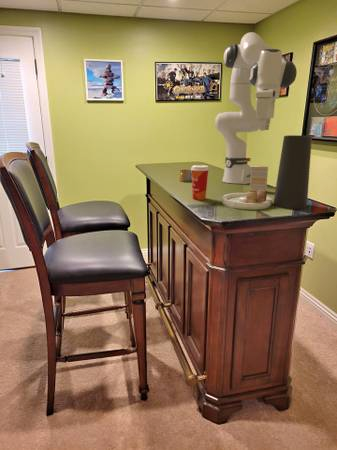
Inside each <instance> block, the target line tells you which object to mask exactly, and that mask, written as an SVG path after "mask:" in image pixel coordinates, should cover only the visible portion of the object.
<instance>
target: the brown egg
mask: <svg viewBox="0 0 337 450" xmlns="http://www.w3.org/2000/svg"><path fill="white" fill-rule="evenodd" d="M256 193H257V200H256V203H260V202H265V201H266V196H268V191H267V190H266V191H264V190H258V191H257V192H256Z"/></svg>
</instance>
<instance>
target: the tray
mask: <svg viewBox="0 0 337 450" xmlns="http://www.w3.org/2000/svg"><path fill="white" fill-rule="evenodd" d="M246 196H247V192H231V193H227V194H226V193H225V194H224V195H222V196H220V197H221V198H220V199H221V203H222V205H223V206H226V207H228V208H232V209H237V210H238V209H239V210H248V211H249V210H251V211H252V210H253V211H254V210H255V211H256V210H265V209H268V208H270V207H272V204H273V198H271V197H270V196H268V195H267V196H266V201H265V202H260V203H246Z"/></svg>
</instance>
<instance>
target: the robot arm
mask: <svg viewBox="0 0 337 450" xmlns="http://www.w3.org/2000/svg"><path fill="white" fill-rule="evenodd" d="M223 62H224V66H225V67H226V68H228V69H231V76H230V85H229V101H230V102H231V103H232V104H234V105H236V106H237V107H239V109H240V111H225V112H219V113H218V114H217V115H216V116H215V118H214V126H215V128H216V130H217V131H218V132H219V133H220V134H221V135H222V136H223V138H224V140H225V144H226V146H225V147H226V155H225V156H226V157H225V159H224V160H225V162H224V164H225V166H224V170H223V177H222V181H221V182H223V183H226V184H234V185H235V184H241V185H242V184H243V185H248V184H250V175H251V166H250V165H249V164H248V162H251V157H247V147H248V145H247V143H246V141H245V140H244V139H242V138H240V137H238V136H237V133H252V132H257V131H261V132H263V131H269V129H270V125H271V119H274V117H275V104H276V99H277V100H278V99H279V98H280V89H281V88H282V89H283V88H285V89H287V88H288V87H290V86H291V85H292V84H293V83H294V82H295V81H296V78H297V73H298V72H297V67H296V65H295V64H294V62H293V61H291V60H288V59H287V58H285V56H284V55H283V54H282V50H281V49H279V48H273V47H271V46H270V45H268V44H267V43H266V42H265V41H264V39H263V38H262V37H261V35H259V34H258V33H256V32H254V31H252V32H251V31H250V32H247V33H245V34H244V35H243V36H242V38H241V39H240V44H239V43H238V44H237V43H233V44H231V45H228V46H227V47H226V48H225V50H224V53H223ZM252 86H253V87H256V89H255V94H254V95H255V97H254V98H255V99H256V101H255V102H256V105H255V106H256V108H254V105H253V104H252V103H253V102H252V97H251V95H252V94H251V92H252Z"/></svg>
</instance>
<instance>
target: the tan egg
mask: <svg viewBox="0 0 337 450" xmlns="http://www.w3.org/2000/svg"><path fill="white" fill-rule="evenodd" d="M246 193H247V196H246V203H256V200H257V192H250V191H248V192H247V191H246Z"/></svg>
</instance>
